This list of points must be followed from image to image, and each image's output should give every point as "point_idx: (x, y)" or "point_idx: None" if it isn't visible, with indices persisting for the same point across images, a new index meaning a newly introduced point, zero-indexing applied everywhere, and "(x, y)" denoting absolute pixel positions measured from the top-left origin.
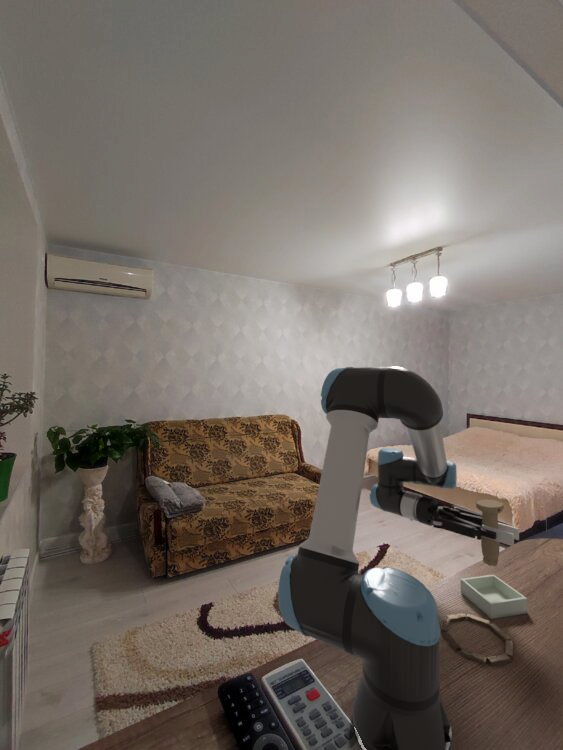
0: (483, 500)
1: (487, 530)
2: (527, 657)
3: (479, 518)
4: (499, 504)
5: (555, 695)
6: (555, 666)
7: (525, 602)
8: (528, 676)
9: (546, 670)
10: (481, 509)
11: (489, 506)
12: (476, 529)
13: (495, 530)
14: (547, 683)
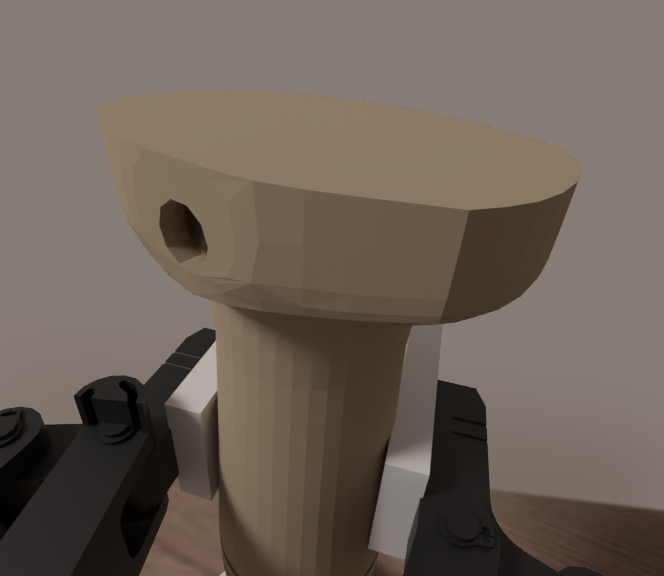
0: (188, 142)
1: (449, 443)
2: (561, 567)
3: (99, 522)
4: (297, 99)
5: (644, 509)
6: (525, 495)
7: None
8: (649, 570)
9: (567, 519)
10: (548, 255)
11: (491, 136)
12: (535, 567)
13: (435, 370)
14: (619, 522)
